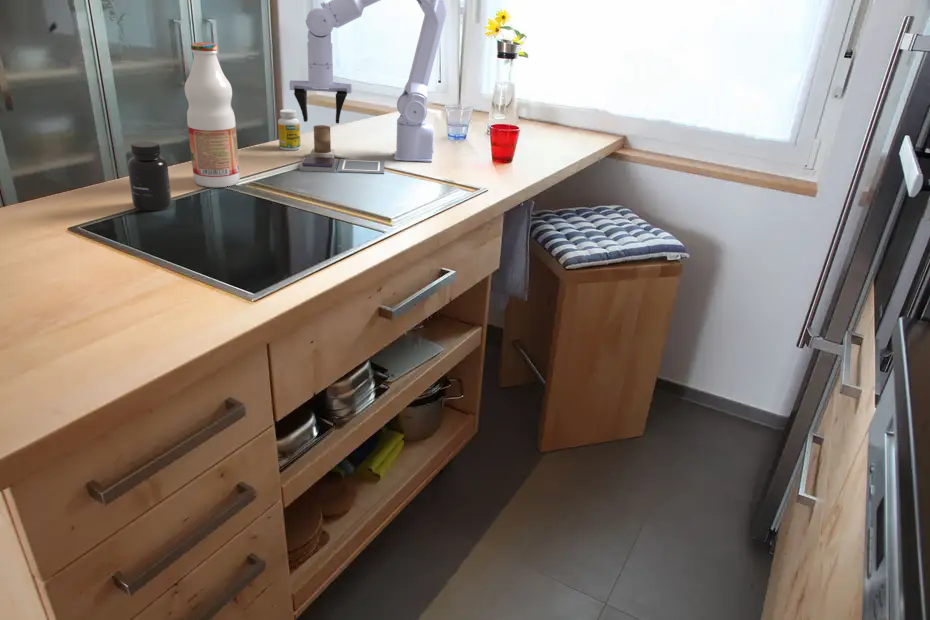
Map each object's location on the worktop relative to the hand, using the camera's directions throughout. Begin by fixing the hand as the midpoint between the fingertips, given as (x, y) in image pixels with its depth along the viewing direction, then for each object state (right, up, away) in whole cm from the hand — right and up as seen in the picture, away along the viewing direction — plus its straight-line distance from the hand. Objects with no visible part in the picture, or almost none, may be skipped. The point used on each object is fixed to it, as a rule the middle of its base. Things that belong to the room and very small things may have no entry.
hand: (321, 121), depth 168 cm
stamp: (-1, -8, +4) cm, 9 cm away
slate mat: (+10, -12, -2) cm, 15 cm away
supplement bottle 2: (-10, -5, +9) cm, 14 cm away
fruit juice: (-18, -19, -20) cm, 33 cm away
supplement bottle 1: (-25, -27, -37) cm, 52 cm away
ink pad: (0, -12, -5) cm, 13 cm away
